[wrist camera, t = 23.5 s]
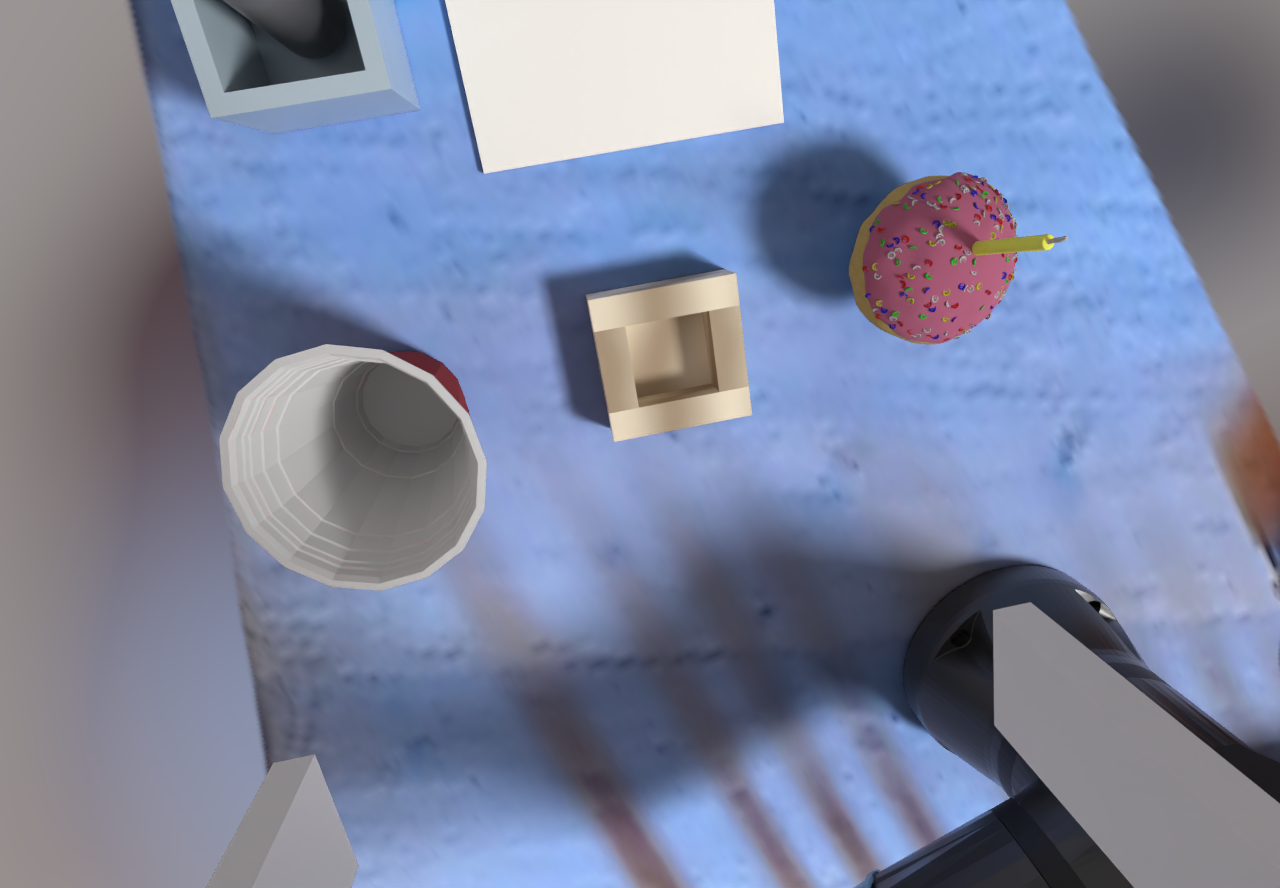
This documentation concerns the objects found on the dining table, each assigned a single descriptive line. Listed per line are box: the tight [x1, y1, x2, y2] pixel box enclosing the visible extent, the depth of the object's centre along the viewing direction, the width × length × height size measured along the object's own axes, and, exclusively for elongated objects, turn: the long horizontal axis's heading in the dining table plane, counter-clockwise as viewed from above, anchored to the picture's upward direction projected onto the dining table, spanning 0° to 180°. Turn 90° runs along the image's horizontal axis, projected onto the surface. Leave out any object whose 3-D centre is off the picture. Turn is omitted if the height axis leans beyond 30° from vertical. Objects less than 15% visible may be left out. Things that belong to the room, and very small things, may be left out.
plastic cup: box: [219, 344, 487, 591], centre depth 34 cm, size 11×11×12 cm
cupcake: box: [849, 172, 1068, 344], centre depth 35 cm, size 9×8×12 cm
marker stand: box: [586, 269, 752, 442], centre depth 39 cm, size 8×8×2 cm
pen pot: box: [171, 0, 421, 134], centre depth 30 cm, size 7×7×7 cm
